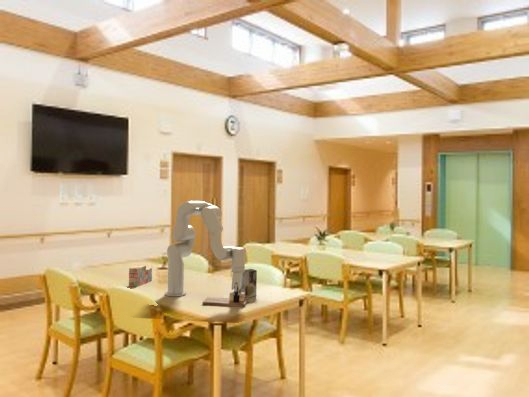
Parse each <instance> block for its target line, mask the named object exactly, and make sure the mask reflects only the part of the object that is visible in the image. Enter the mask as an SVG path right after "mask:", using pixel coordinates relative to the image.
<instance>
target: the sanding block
mask: <svg viewBox="0 0 529 397" xmlns="http://www.w3.org/2000/svg"><path fill="white" fill-rule="evenodd" d="M228 297H229V302H233V299H234V290H232V291H230V292H229V296H228ZM245 299H246V298H245V292H239V302H240V303H243V302H244V301H245Z"/></svg>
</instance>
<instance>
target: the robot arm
mask: <svg viewBox="0 0 529 397" xmlns="http://www.w3.org/2000/svg"><path fill="white" fill-rule="evenodd" d="M190 216H201V219H202V221H203V223H204V225H205V227H206V229H207V231H208V233H209V246H210V248H211V249H210V250H212V252H213V255H214V256H215V258H216V259H217V260H219V261H227V260H231V270H230V271H231V273H232V278H231V290H232V291H234V299H233V302H239V292H241V288H242V278H243V272H245V265H246V249H245V248H244V247H238V246H237V247H235V246H232V245H226V246H225V245H224V246H223V244H222V240H221V237H220V236H221V233H222V232H223V230H224V227H223V225H222V222H221V221H220V219H221V217H222V210H221V209H220V207H218V206H217V205H214V204H211V203H208V202H205V201H202V200H188V201H183V202H181V203H179V205H178V206H177V209H176V218H175V221H174V227H173V232H172V238H173V241H175V242H174V243H171V244H170V245H168V247H167V249H166V256H167V262H168V265H167V270H168V271H167V274H168V275H167V291H165V292H164V295H165V296H166V297H183V296H185V295H186V294H187V292H186V291H185V290H184V288H185V287H184V282H185V281H184V280H185V276H184V275H185V265H184V261H183V260H184V259H183V258H186V257H189V256H190V255H191V254H192V252H193V249H194V245H195V240H196V236H197V233H196V230H195V228H194V226H192V225H190V222H191V217H190Z"/></svg>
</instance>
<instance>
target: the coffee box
mask: <svg viewBox="0 0 529 397" xmlns="http://www.w3.org/2000/svg"><path fill="white" fill-rule="evenodd" d="M257 272H258V270H256V269H252V268H247V269H245V272H243V278H242V288H241V292H245V299H248V298H251V297H256V296H257V275H258V274H257Z"/></svg>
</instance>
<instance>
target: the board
mask: <svg viewBox="0 0 529 397" xmlns="http://www.w3.org/2000/svg"><path fill="white" fill-rule="evenodd" d="M248 299H249V298H245V301H244V302H243V303H240V302H229V298H228V297H226V298H225V297H211V296H210V297H205V299H204V300H203V301H202V304H201V305H202V306H217V307H218V306H220V307H238V308H245V307H246V306H247V304H248V302H249V300H248Z"/></svg>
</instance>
